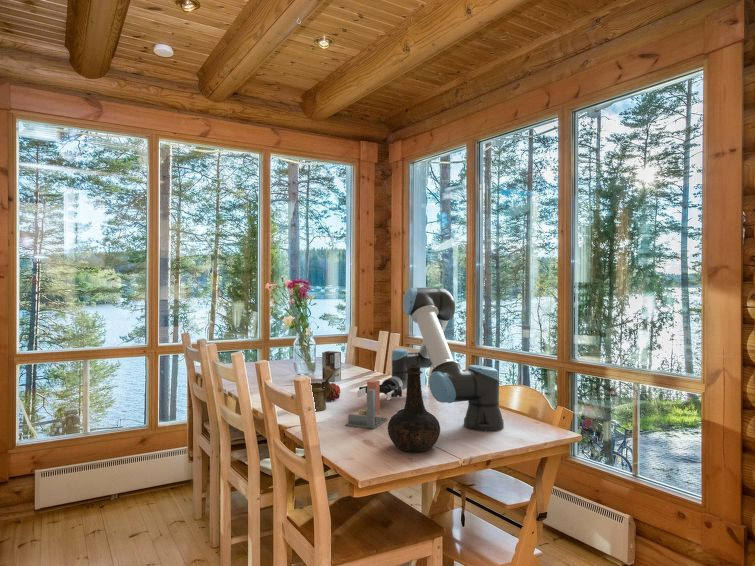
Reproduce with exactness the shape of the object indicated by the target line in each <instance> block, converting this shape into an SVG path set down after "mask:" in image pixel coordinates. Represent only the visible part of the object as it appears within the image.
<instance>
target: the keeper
mask: <svg viewBox="0 0 755 566" xmlns="http://www.w3.org/2000/svg"><path fill="white" fill-rule="evenodd" d="M347 417H348V422H345V426H346V427H351V428H352V427H354V428H359V427H360V429H367V430H368V429H370V430H375V429H376V428H378V427H379V426H381V425H382V424H384V423H386V422H387V421H388V420H389V419H388V417H383V416H382V417H381V416H376V411H375V389H368V390H367V393H366V409H359V410H358V414H356V413H349V414H348V415H347Z"/></svg>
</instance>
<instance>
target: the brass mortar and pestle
mask: <svg viewBox="0 0 755 566" xmlns="http://www.w3.org/2000/svg"><path fill="white" fill-rule="evenodd" d="M335 370H336V368H335V369H333V370H332V371H331V373H330V374H329V376H328V377H327V379H326V381H322V382H310V383H311V385H312V392H313V397H314V402H315V409H316V412H322V410H323V411H325V410H326V409H327V403H326V402H327V397H328V395H329V394H330V391H331V385H330V384H331V383H330V381H329V379H330V378H331V377H332V375H333V374H334V372H335ZM324 387H326V388H327V392H326V393H324V392H323V390H325V389H324Z"/></svg>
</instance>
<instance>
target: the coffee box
mask: <svg viewBox="0 0 755 566" xmlns="http://www.w3.org/2000/svg"><path fill="white" fill-rule="evenodd" d="M321 364H322V369H321V370H322V371H321V372H322V375H321V376H322V377H321V378H322V381H323V380H326V379H327V377H328V376H329V374H330V373H331V371H332V370H333V369H335V368H336V370H335V372H334V374H333V375H332V377H331V378H330V379H329V382H332V381H336V382H339V381H338V380H340V381H341V380H342V352H341V351H334V350H333V351H331V350H328V351H323V352H321Z"/></svg>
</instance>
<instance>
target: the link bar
mask: <svg viewBox="0 0 755 566" xmlns="http://www.w3.org/2000/svg"><path fill="white" fill-rule="evenodd" d="M380 385H381V383H380V380H376V379H375V380H374V379H370V380H368V381H366V386H367V390H368V389H375V411H376V415H377V416H378V415H380V413H381V412H380V410H381V408H380V407H381V406H380V403H381V402H380V399H381V397H380V396H381V393H380Z"/></svg>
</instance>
